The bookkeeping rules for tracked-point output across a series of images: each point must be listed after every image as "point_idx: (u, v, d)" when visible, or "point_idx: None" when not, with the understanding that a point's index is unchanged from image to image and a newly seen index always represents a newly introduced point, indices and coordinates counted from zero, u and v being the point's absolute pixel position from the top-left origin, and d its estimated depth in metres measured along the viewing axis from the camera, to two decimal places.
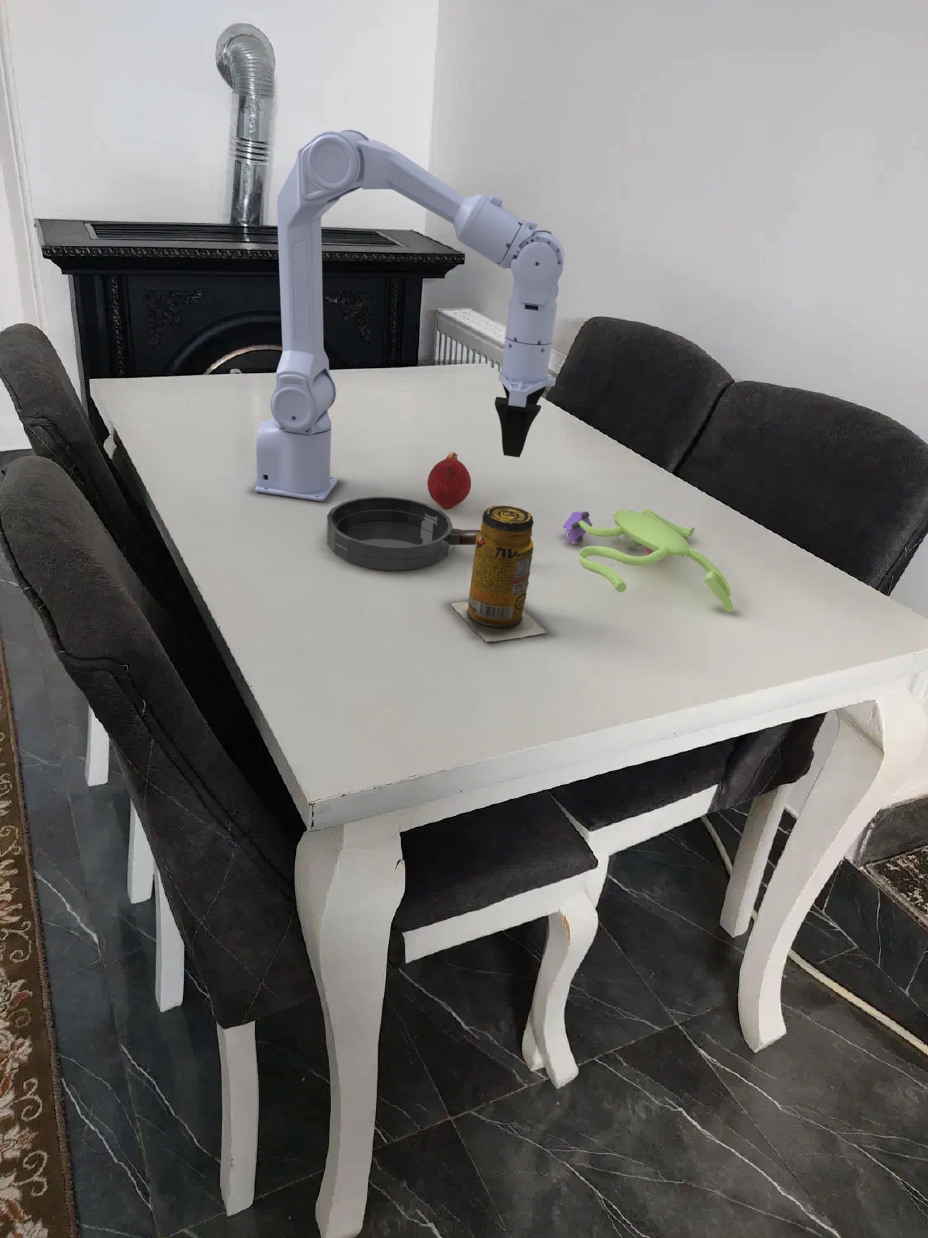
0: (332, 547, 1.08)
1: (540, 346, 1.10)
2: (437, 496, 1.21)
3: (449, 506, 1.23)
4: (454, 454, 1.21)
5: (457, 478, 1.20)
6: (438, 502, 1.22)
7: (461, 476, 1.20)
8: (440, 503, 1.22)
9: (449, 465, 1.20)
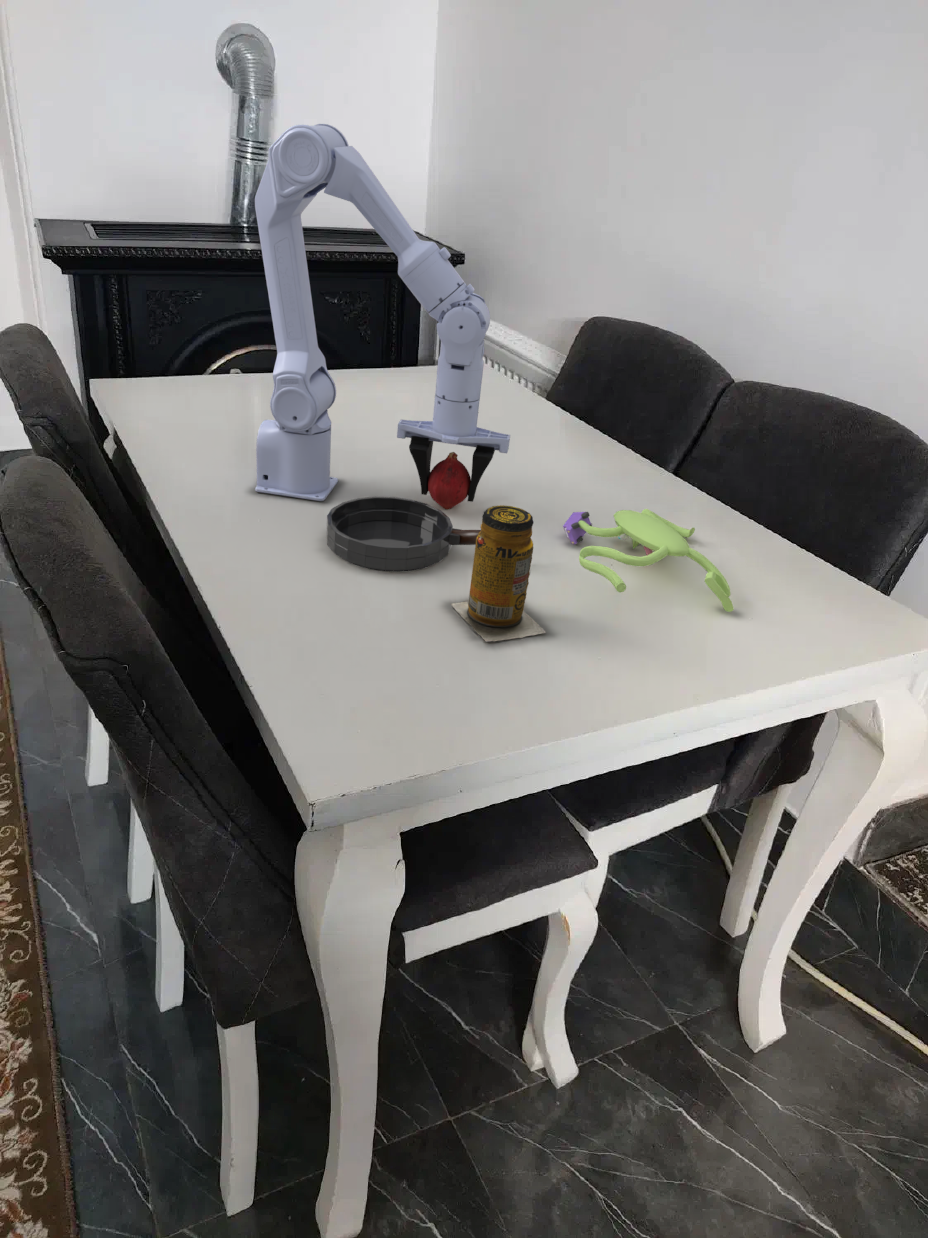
0: (332, 547, 1.08)
1: (437, 398, 1.15)
2: (437, 496, 1.21)
3: (449, 506, 1.23)
4: (454, 454, 1.21)
5: (457, 478, 1.20)
6: (438, 502, 1.22)
7: (461, 476, 1.20)
8: (440, 503, 1.22)
9: (449, 466, 1.20)
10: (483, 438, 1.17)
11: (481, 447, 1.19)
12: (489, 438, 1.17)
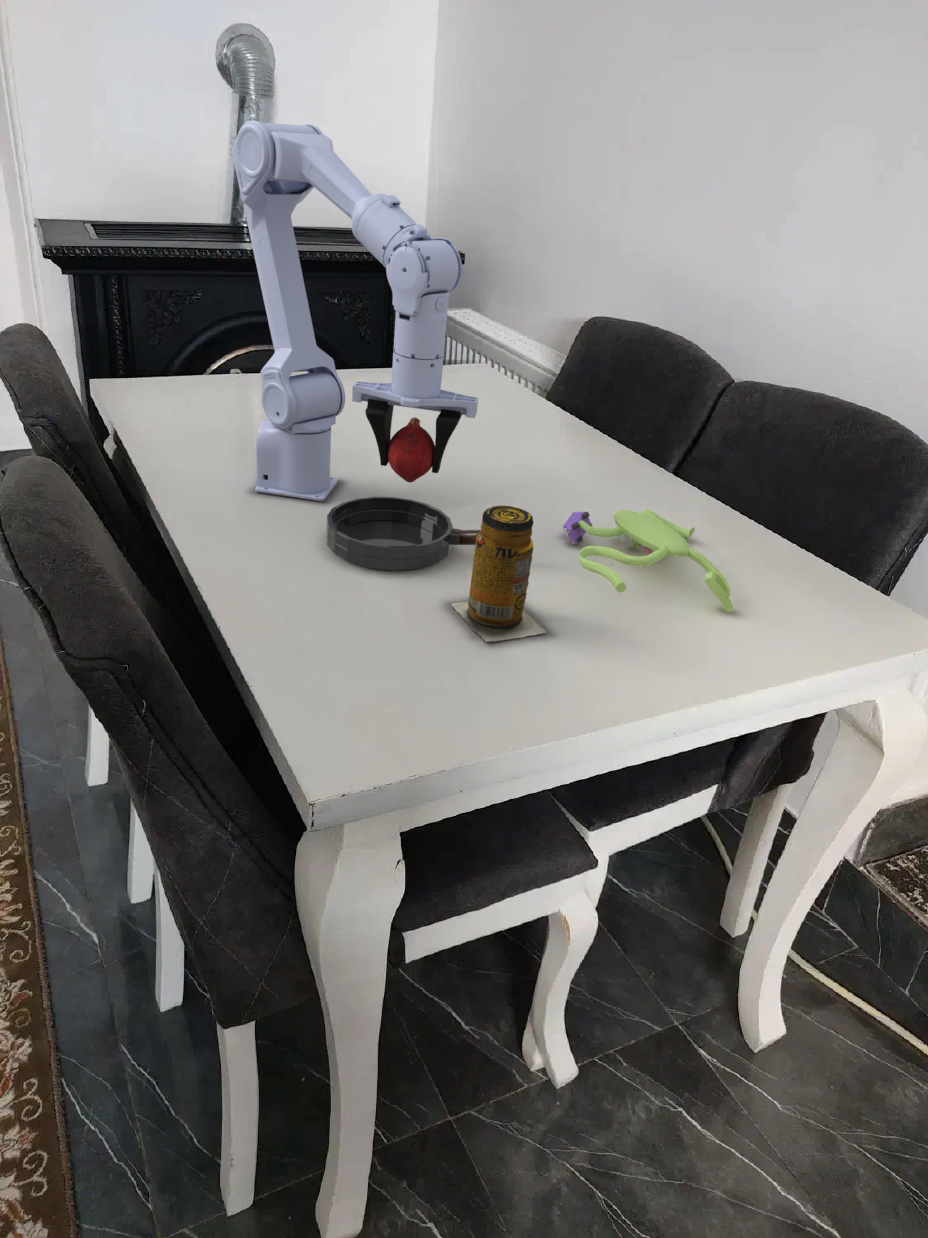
0: (332, 547, 1.08)
1: (395, 355, 1.03)
2: (397, 467, 1.09)
3: (412, 478, 1.10)
4: (417, 419, 1.08)
5: (419, 447, 1.08)
6: (399, 474, 1.10)
7: (424, 444, 1.08)
8: (401, 475, 1.10)
9: (411, 432, 1.08)
10: (447, 401, 1.05)
11: (446, 411, 1.06)
12: (454, 401, 1.05)
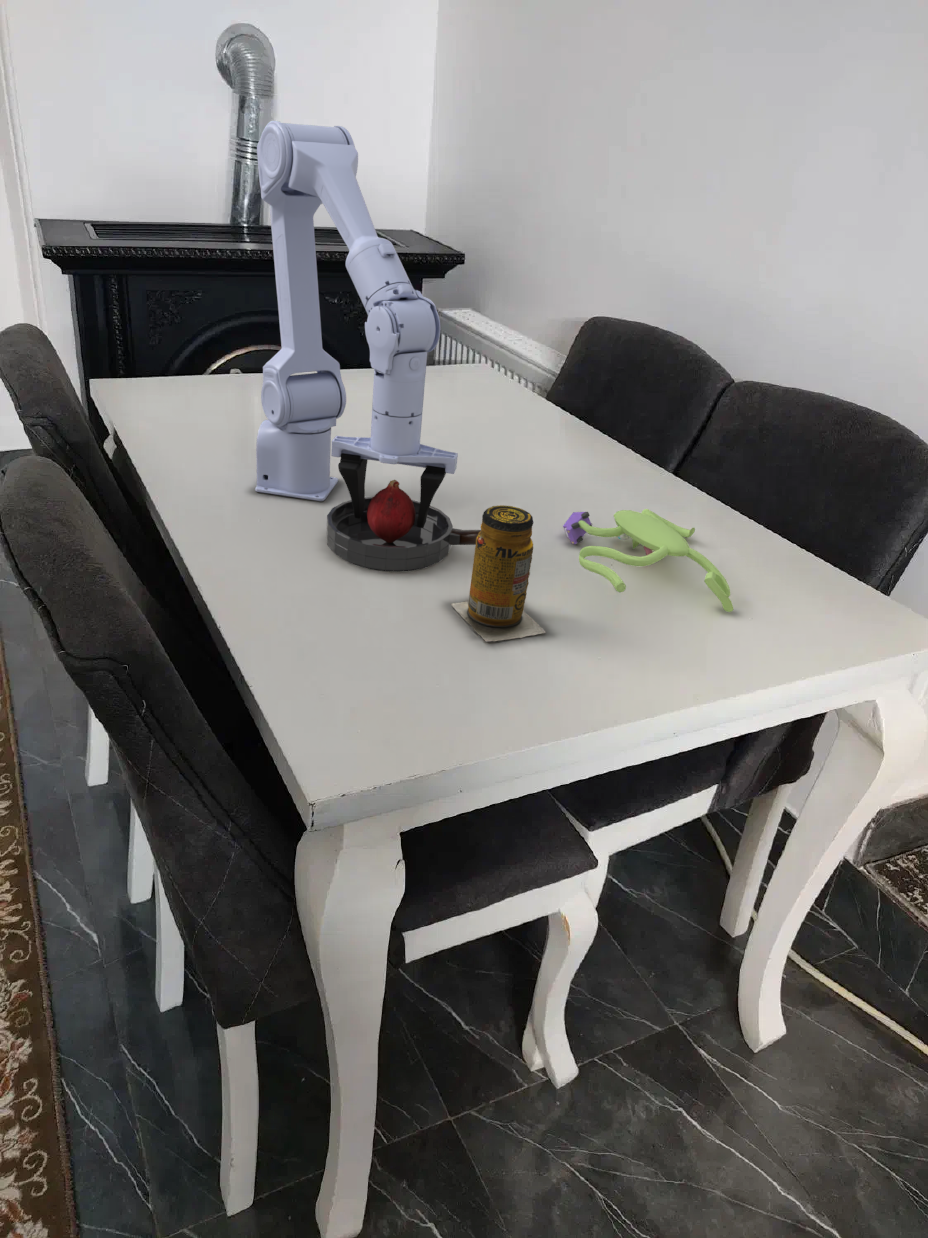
0: (332, 547, 1.08)
1: (374, 412, 1.03)
2: (376, 529, 1.09)
3: (391, 539, 1.11)
4: (396, 482, 1.08)
5: (398, 509, 1.08)
6: (378, 535, 1.10)
7: (403, 507, 1.08)
8: (381, 536, 1.10)
9: (390, 495, 1.08)
10: (426, 457, 1.05)
11: (431, 468, 1.06)
12: (433, 457, 1.05)
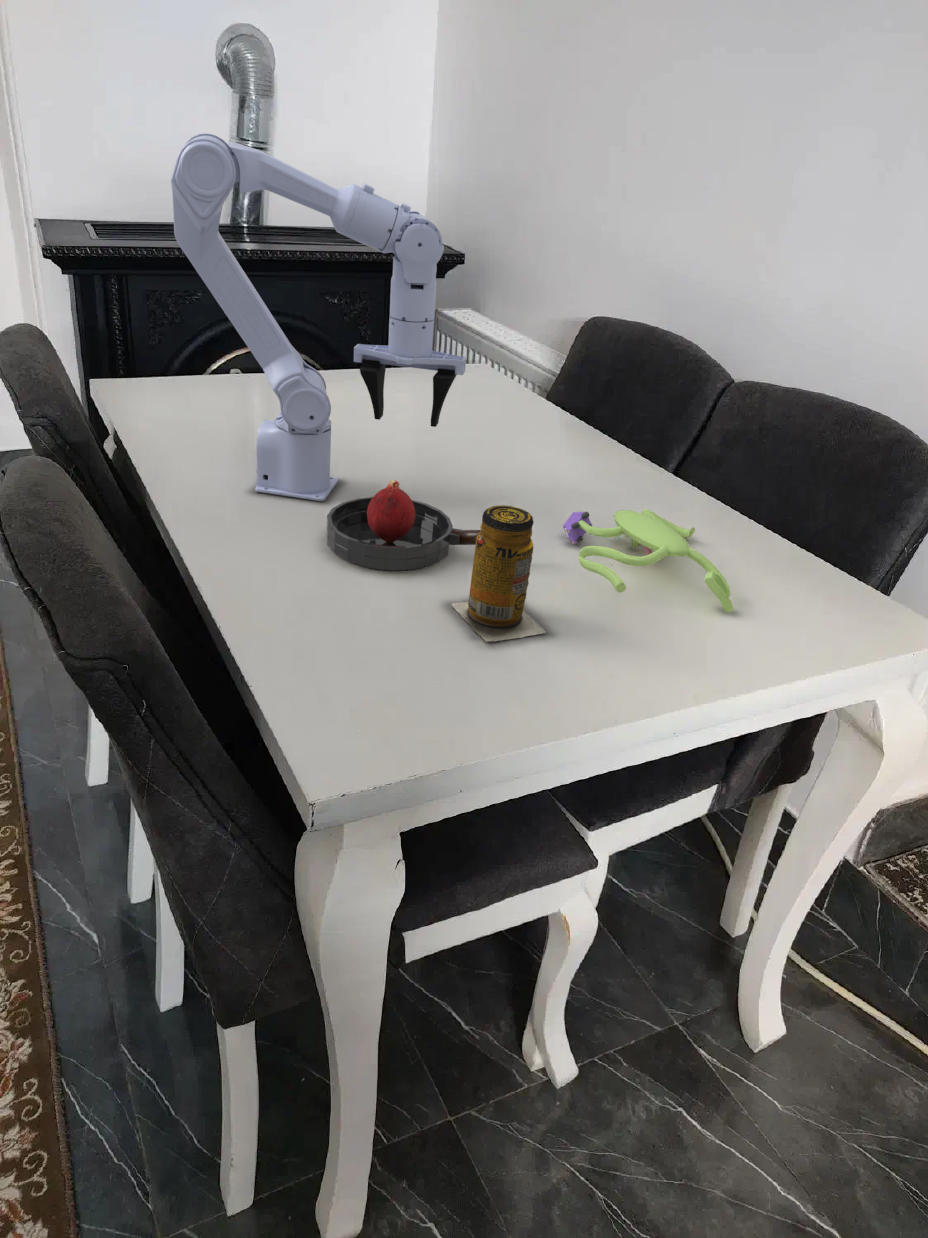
0: (332, 547, 1.08)
1: (391, 319, 1.16)
2: (376, 529, 1.09)
3: (391, 539, 1.11)
4: (396, 482, 1.08)
5: (398, 509, 1.08)
6: (378, 535, 1.10)
7: (403, 507, 1.08)
8: (381, 536, 1.10)
9: (390, 495, 1.08)
10: (438, 359, 1.18)
11: (442, 370, 1.19)
12: (444, 359, 1.18)
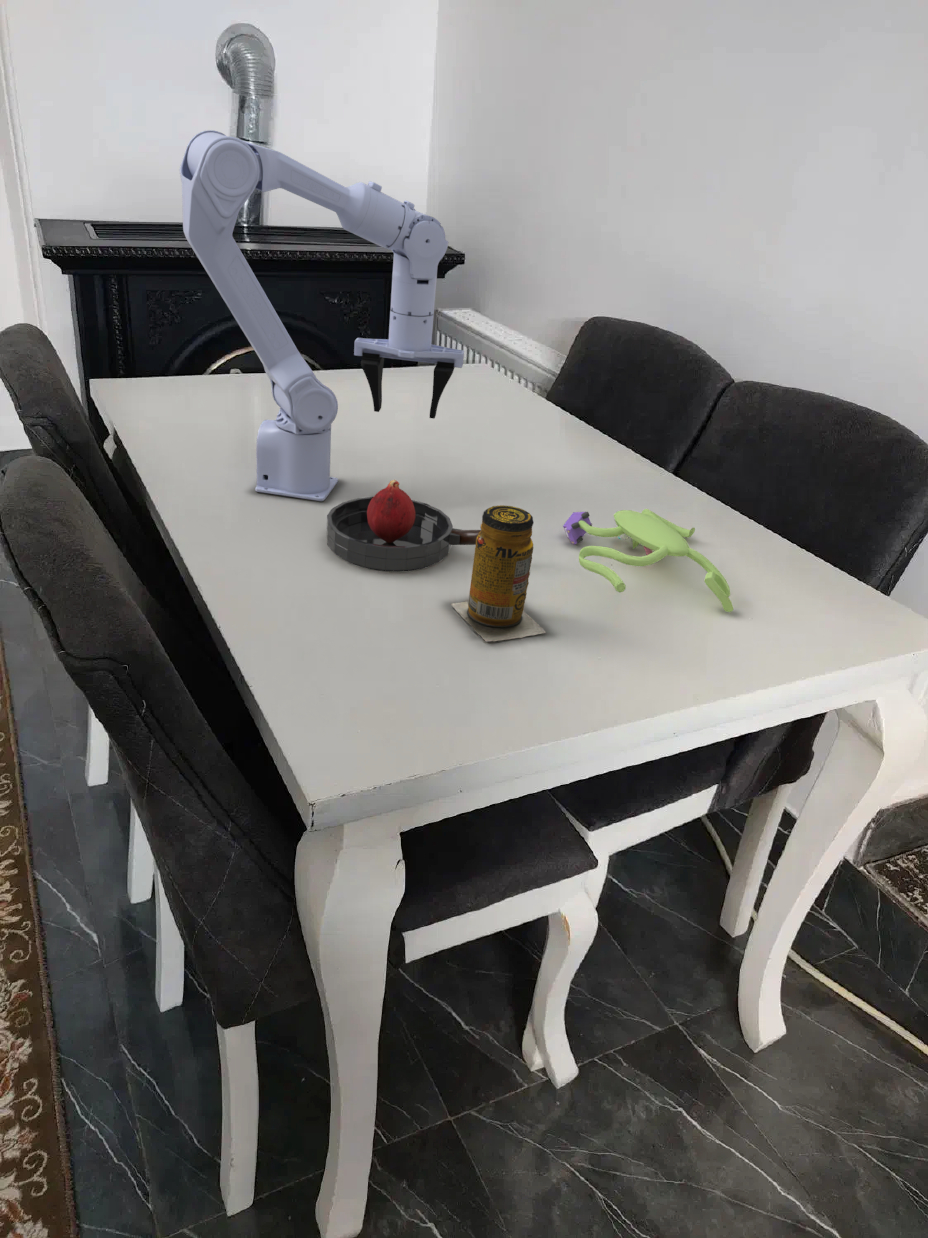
0: (332, 547, 1.08)
1: (392, 313, 1.19)
2: (376, 529, 1.09)
3: (391, 539, 1.11)
4: (396, 482, 1.08)
5: (398, 509, 1.08)
6: (378, 535, 1.10)
7: (403, 507, 1.08)
8: (381, 536, 1.10)
9: (390, 495, 1.08)
10: (438, 352, 1.21)
11: (441, 363, 1.22)
12: (444, 353, 1.21)
